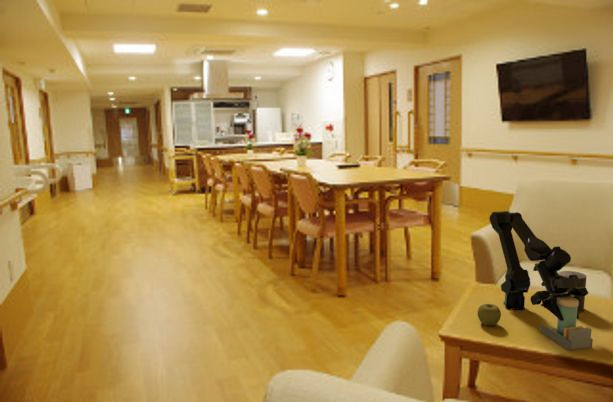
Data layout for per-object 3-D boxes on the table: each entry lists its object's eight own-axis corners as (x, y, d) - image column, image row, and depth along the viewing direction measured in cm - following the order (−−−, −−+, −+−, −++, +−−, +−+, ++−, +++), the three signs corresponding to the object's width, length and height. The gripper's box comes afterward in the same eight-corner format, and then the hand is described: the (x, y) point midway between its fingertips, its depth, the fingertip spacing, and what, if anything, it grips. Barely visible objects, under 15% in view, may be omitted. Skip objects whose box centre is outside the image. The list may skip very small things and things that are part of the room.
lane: (540, 331, 171) (541, 314, 170) (561, 329, 173) (563, 311, 171) (568, 350, 157) (570, 331, 156) (592, 347, 159) (593, 329, 158)
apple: (497, 330, 173) (498, 311, 172) (474, 325, 177) (475, 307, 176) (502, 322, 179) (503, 304, 178) (479, 318, 183) (480, 300, 182)
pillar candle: (581, 314, 184) (585, 276, 181) (553, 309, 190) (556, 272, 187) (585, 306, 191) (588, 270, 189) (558, 301, 197) (561, 265, 195)
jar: (554, 337, 164) (557, 300, 162) (558, 330, 169) (561, 295, 166) (573, 341, 161) (576, 304, 158) (577, 335, 165) (580, 299, 163)
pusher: (563, 342, 161) (564, 328, 161) (579, 340, 163) (581, 326, 162) (565, 343, 160) (566, 329, 160) (582, 341, 162) (583, 327, 161)
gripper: (538, 268, 162) (558, 313, 154) (587, 264, 166) (609, 307, 157) (521, 283, 171) (540, 325, 163) (568, 278, 175) (589, 320, 166)
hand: (570, 319), depth 162 cm, fingers closed on jar, 5 cm apart
